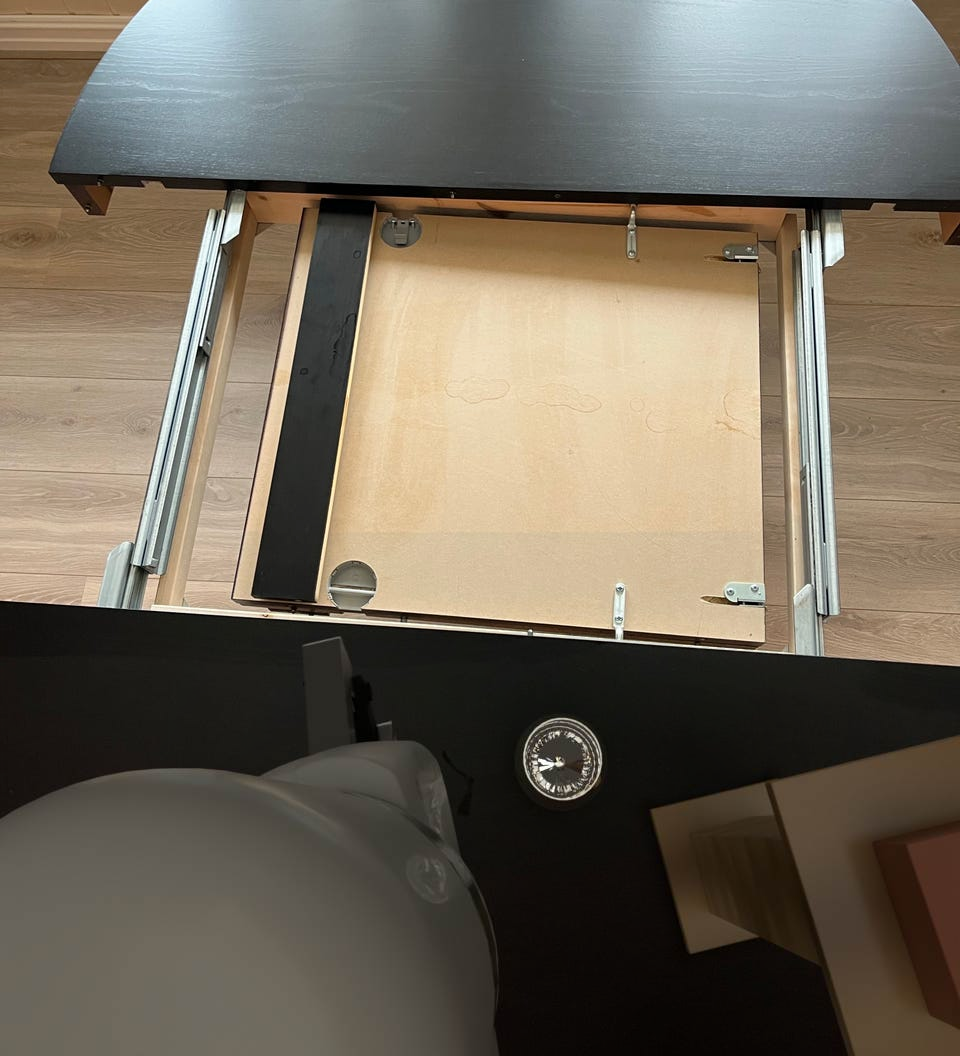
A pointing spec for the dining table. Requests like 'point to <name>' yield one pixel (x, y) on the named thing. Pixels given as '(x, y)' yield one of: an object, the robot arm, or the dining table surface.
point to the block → (928, 909)
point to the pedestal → (819, 882)
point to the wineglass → (560, 762)
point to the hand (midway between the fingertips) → (402, 916)
